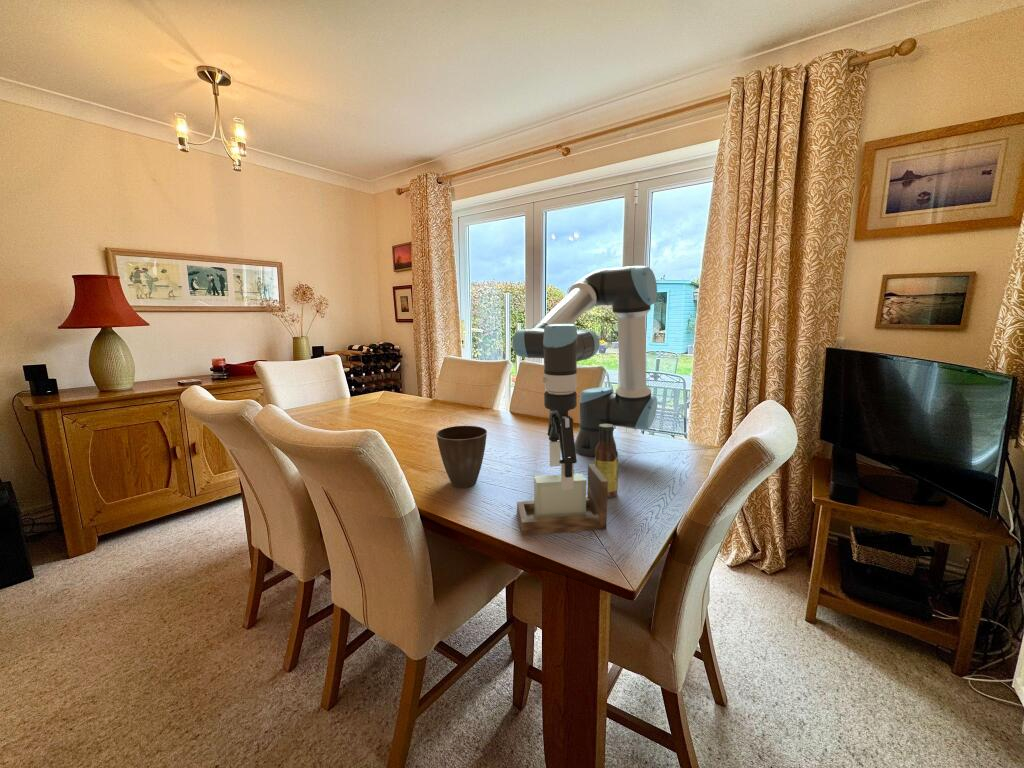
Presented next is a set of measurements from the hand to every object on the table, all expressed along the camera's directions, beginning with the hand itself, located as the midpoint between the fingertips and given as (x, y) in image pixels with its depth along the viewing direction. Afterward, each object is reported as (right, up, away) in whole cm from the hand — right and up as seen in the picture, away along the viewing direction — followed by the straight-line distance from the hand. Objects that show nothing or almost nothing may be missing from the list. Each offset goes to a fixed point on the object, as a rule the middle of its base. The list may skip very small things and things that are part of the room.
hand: (560, 476), depth 99 cm
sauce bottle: (+15, -9, +16) cm, 23 cm away
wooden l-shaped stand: (0, -11, +2) cm, 11 cm away
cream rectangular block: (0, -10, +1) cm, 10 cm away
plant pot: (-27, -8, +25) cm, 37 cm away
